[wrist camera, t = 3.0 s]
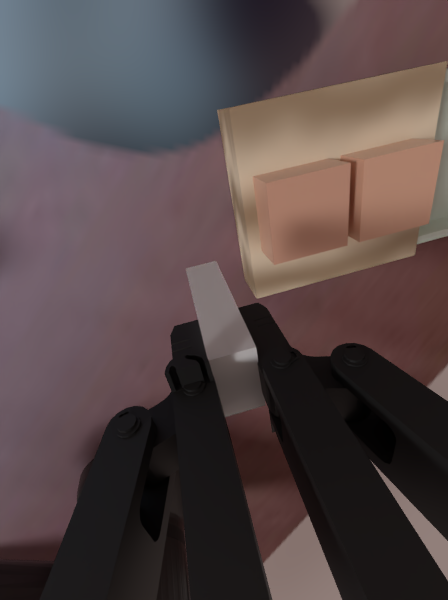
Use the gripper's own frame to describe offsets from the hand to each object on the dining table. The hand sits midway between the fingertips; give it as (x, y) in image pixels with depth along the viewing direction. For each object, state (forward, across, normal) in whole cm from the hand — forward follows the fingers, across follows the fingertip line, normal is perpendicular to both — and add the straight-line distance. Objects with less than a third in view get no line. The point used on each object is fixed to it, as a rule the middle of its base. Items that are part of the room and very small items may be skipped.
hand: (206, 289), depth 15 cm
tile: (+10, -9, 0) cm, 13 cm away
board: (+14, -13, 0) cm, 19 cm away
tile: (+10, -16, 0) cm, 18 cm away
